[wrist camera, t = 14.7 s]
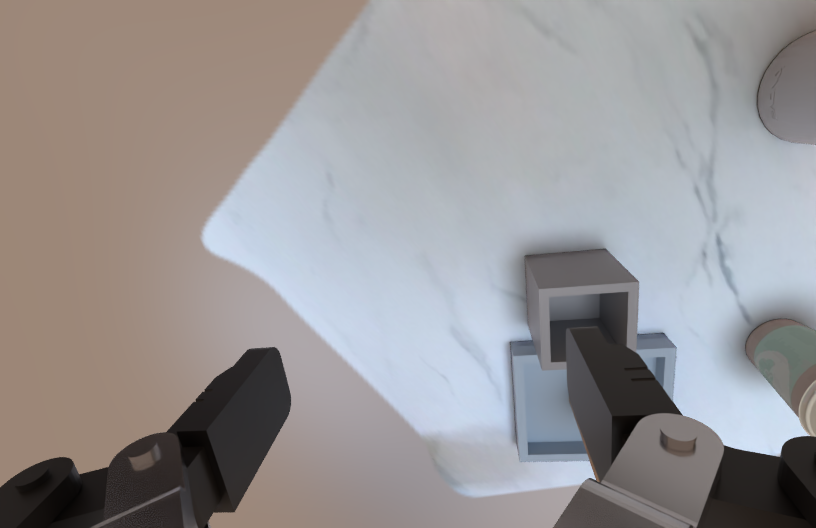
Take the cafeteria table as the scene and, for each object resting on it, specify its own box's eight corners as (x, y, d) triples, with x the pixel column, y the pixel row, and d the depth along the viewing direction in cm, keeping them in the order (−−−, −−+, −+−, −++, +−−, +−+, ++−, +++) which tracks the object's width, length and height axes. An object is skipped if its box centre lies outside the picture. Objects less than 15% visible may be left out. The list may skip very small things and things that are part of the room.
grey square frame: (605, 248, 45) (639, 281, 36) (604, 320, 47) (635, 366, 39) (524, 255, 46) (538, 289, 38) (527, 324, 49) (541, 370, 40)
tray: (663, 333, 47) (676, 347, 44) (657, 440, 52) (668, 459, 49) (510, 342, 49) (513, 356, 47) (516, 443, 54) (519, 462, 51)
